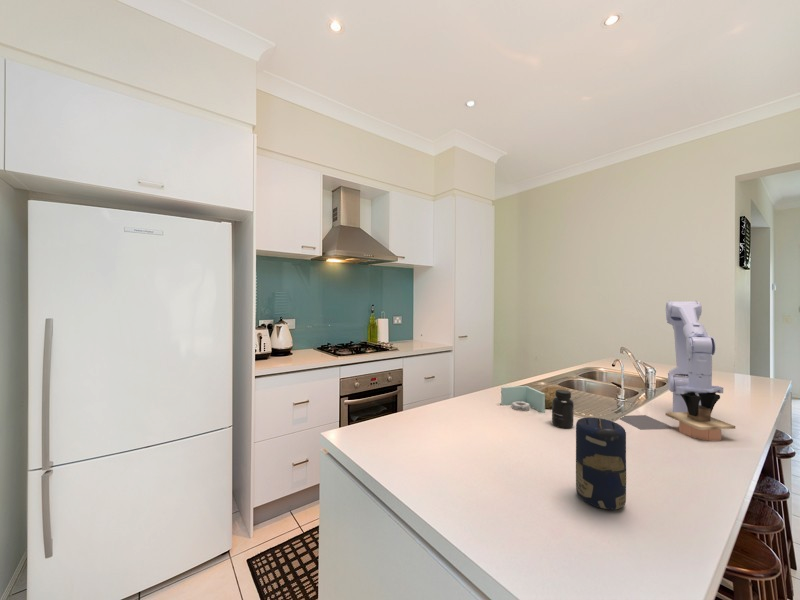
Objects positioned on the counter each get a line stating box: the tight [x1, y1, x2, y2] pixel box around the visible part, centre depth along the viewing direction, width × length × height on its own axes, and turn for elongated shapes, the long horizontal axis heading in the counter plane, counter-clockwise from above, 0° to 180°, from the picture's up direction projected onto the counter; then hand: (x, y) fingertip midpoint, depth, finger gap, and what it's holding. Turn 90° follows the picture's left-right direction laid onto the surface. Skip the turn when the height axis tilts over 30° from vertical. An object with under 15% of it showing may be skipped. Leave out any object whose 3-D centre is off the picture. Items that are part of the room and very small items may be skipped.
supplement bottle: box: [551, 390, 575, 430], centre depth 116 cm, size 7×7×12 cm
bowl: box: [678, 421, 722, 442], centre depth 108 cm, size 10×10×4 cm
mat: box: [619, 414, 677, 431], centre depth 118 cm, size 13×13×1 cm
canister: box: [575, 416, 627, 510], centre depth 73 cm, size 10×10×18 cm
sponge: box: [541, 386, 570, 409], centre depth 141 cm, size 13×8×20 cm
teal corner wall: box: [500, 385, 546, 414], centre depth 134 cm, size 12×12×8 cm
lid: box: [665, 405, 736, 430], centre depth 108 cm, size 12×12×5 cm
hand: (699, 415), depth 108 cm, fingers open, 4 cm apart
